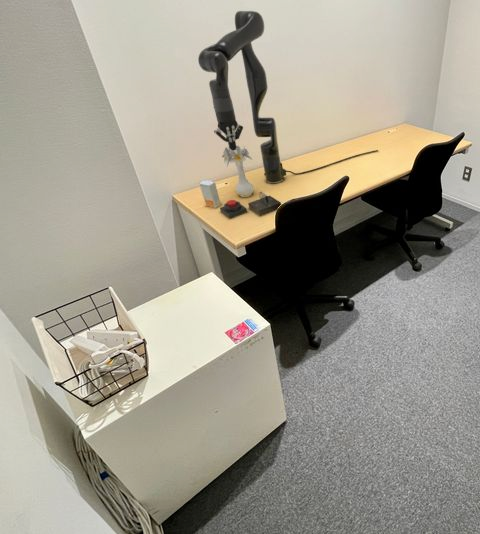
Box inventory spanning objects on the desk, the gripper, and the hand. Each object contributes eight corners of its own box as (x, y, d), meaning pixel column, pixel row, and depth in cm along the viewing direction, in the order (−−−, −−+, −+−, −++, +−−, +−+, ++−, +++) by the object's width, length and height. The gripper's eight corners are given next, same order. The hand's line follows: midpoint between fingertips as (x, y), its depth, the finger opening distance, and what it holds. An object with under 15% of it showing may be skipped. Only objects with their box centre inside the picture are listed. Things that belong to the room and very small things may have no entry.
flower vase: (246, 185, 179) (236, 138, 164) (265, 196, 169) (256, 147, 154) (224, 192, 172) (211, 144, 156) (242, 204, 162) (231, 154, 146)
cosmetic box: (205, 206, 161) (198, 183, 153) (211, 202, 164) (204, 179, 156) (215, 208, 159) (209, 185, 152) (221, 204, 162) (215, 181, 155)
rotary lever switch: (270, 200, 166) (269, 195, 164) (281, 207, 160) (280, 202, 158) (249, 208, 159) (248, 202, 157) (260, 216, 154) (259, 210, 152)
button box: (237, 205, 161) (236, 198, 159) (247, 212, 157) (245, 204, 154) (220, 211, 157) (218, 204, 154) (230, 218, 152) (227, 211, 149)
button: (234, 202, 157) (233, 198, 156) (238, 205, 154) (238, 202, 153) (225, 205, 154) (224, 201, 153) (230, 208, 152) (229, 205, 151)
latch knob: (269, 204, 157) (267, 195, 154) (266, 205, 156) (264, 196, 153) (262, 200, 160) (261, 191, 157) (260, 201, 159) (258, 192, 156)
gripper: (212, 113, 130) (223, 156, 141) (242, 107, 137) (250, 148, 148) (204, 109, 134) (215, 151, 145) (234, 103, 141) (242, 143, 152)
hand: (233, 149), depth 147 cm, fingers closed
